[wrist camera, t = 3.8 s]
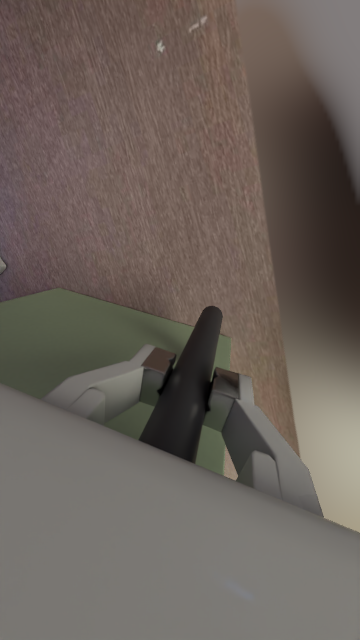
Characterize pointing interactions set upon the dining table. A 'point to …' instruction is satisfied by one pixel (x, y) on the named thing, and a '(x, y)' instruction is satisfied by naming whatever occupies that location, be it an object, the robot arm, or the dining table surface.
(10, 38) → the dining table surface
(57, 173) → the dining table surface
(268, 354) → the dining table surface
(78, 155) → the dining table surface
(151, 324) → the cupboard door
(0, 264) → the smartphone
